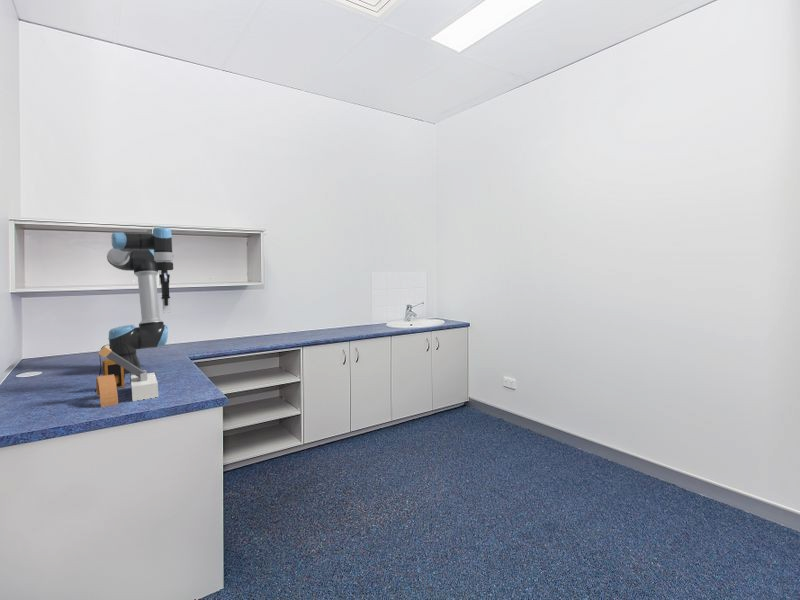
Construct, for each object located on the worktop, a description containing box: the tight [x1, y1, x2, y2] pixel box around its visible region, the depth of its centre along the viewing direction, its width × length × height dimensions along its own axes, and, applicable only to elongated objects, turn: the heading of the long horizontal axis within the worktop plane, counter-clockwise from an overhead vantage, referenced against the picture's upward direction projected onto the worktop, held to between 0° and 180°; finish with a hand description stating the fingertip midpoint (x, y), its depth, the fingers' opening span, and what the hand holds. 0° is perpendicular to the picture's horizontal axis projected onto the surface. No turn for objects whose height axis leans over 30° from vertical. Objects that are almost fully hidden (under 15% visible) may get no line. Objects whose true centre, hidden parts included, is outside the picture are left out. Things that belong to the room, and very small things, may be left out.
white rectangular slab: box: [130, 369, 159, 402], centre depth 182 cm, size 22×9×9 cm, turn 33°
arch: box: [95, 374, 119, 408], centre depth 174 cm, size 6×20×10 cm, turn 38°
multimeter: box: [94, 343, 132, 393], centre depth 192 cm, size 15×10×20 cm
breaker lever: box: [97, 345, 145, 378], centre depth 178 cm, size 5×3×20 cm
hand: (166, 312), depth 200 cm, fingers closed
